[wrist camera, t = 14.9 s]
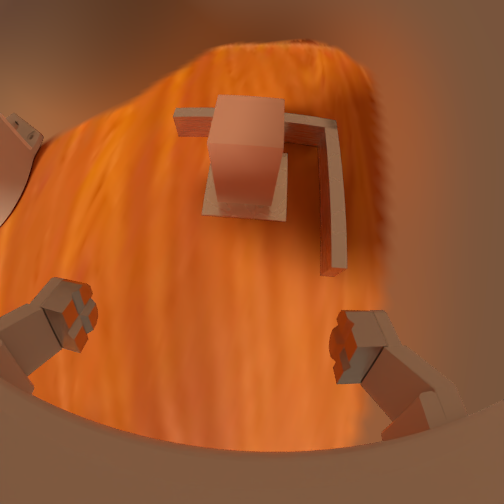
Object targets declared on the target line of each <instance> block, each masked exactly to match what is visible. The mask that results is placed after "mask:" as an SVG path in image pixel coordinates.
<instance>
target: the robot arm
mask: <svg viewBox="0 0 504 504" xmlns="http://www.w3.org/2000/svg"><path fill="white" fill-rule="evenodd" d="M43 138H44V137H43V135H42V134H41V133H40V132H38V131H37V130H36V129H34V128H33V127H32V126H31V125H29V124H28V123H26V122H25V121H24V120H23V119H21V118H20V117H19V116H18V115H16V114H15V113H13V114H11V115H10V116H8V117H7V118H5V117H4V116H3V115H2V113H0V226H1V225H2V224H3V222H4V221H5V220H6V219H7V217H8V216H9V214H10V213H11V211H12V210H13V208H14V206H15V205H16V203H17V201H18V199H19V198H20V196H21V194H22V191H23V189H24V187H25V185H26V182H27V180H28V177H29V174H30V170H31V166H32V162H33V159H34V156H35V154H36V152H37V151H38V149H39V147H40V145H41V143H42V141H43ZM92 294H93V293H92V290H91V287H90V285H88V284H87V283H82V282H77V281H72V280H68V279H62V278H58V277H54V278H51V280H50V281H49V282H48V283H47V284H46V285H45V286H44V288H43V289H42V290H41V291H40V292H39V293H38V295H37V296H36V297H35V298H34V299H33V301H32V302H31V303H30V304H25V305H23V306H21V307H19V308H17V309H15V310H13V311H11V312H9V313H7V314H6V315H4V316H2V317H0V504H504V399H503V400H501V401H499V402H497V403H495V404H493V405H491V406H489V407H486V408H484V409H482V410H480V411H478V412H475V413H473V414H470V415H468V414H467V411H466V409H465V406H464V404H463V401H462V399H461V397H460V394H459V392H458V390H457V388H456V386H455V384H454V383H453V382H451V381H450V380H449V379H448V378H446V377H445V376H444V375H443V374H441V373H440V372H439V371H438V370H436V369H435V368H434V367H433V366H431V365H430V364H429V363H427V362H426V361H425V360H424V359H422V358H421V357H420V356H419V355H417V354H416V353H415V352H414V351H412V350H411V349H410V348H408V347H407V346H402V344H401V342H400V340H399V338H398V336H397V334H396V331H395V329H394V327H393V325H392V323H391V321H390V319H389V317H388V315H387V313H386V312H385V311H384V310H370V311H361V310H341V312H340V313H339V315H338V317H337V322H338V326H336V327H335V328H334V329H333V330H332V332H331V335H330V340H329V352H330V356H331V358H332V359H334V360H335V361H336V363H335V365H334V367H333V370H334V374H335V379H336V383H337V384H355V383H361V384H360V385H361V386H362V387H363V388H364V389H365V390H366V392H367V393H368V394H369V395H370V396H371V397H372V398H373V400H374V401H375V402H376V403H377V404H378V405H379V407H380V408H381V409H382V410H383V411H384V412H385V413H386V415H387V416H388V417H389V418H390V419H391V420H392V421H393V422H392V423H391V424H390V425H389V426H388V427H387V428H386V429H384V430H383V432H382V433H381V436H382V440H383V441H381V442H376V443H370V444H364V445H358V446H351V447H344V448H336V449H326V450H314V451H295V452H255V451H236V450H224V449H214V448H205V447H198V446H191V445H185V444H179V443H173V442H168V441H163V440H158V439H154V438H149V437H145V436H141V435H137V434H133V433H130V432H126V431H122V430H119V429H116V428H112V427H109V426H106V425H103V424H100V423H97V422H94V421H91V420H89V419H86V418H83V417H81V416H78V415H75V414H73V413H70V412H68V411H66V410H63V409H61V408H59V407H56V406H54V405H52V404H50V403H48V402H46V401H43V400H41V399H39V398H37V397H35V396H33V395H31V394H32V392H33V390H34V385H33V384H32V383H31V381H30V380H29V379H28V377H27V376H29V375H30V374H31V373H32V372H33V371H35V370H36V369H37V368H38V367H40V366H41V365H42V364H43V363H45V362H46V361H47V360H49V359H50V358H51V357H52V356H54V355H55V354H56V353H57V352H59V351H60V350H61V349H62V348H64V349H68V350H71V351H75V352H78V353H81V351H82V350H83V348H84V346H85V344H86V342H87V340H88V336H87V333H89V332H91V331H92V330H94V328H95V326H96V324H97V319H98V309H97V306H96V303H95V302H94V301H93V300H92V299H91V296H92Z"/></svg>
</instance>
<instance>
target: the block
mask: <svg viewBox="0 0 504 504" xmlns="http://www.w3.org/2000/svg"><path fill="white" fill-rule="evenodd" d="M207 145H208V151H209V157H210V162H211V168H212V174H213V179H214V185H215V190H216V195H217V201H218V202H225V203H239V204H251V205H263V206H271V205H272V200H273V196H274V191H275V187H276V182H277V177H278V173H279V168H280V164H281V159H282V154H283V150H284V99H277V98H267V97H255V96H239V95H218V98H217V103H216V107H215V111H214V115H213V119H212V124H211V128H210V132H209V137H208V141H207Z"/></svg>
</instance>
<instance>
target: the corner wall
mask: <svg viewBox="0 0 504 504" xmlns="http://www.w3.org/2000/svg"><path fill="white" fill-rule="evenodd" d="M214 111H215V108H176V110H175V112H174V115H173V119H174V122H175V126H176V129H177V132H178V136H179V137H209V132H210V128H211V124H212V119H213V115H214ZM284 142H286V143H295V144H303V145H310V146H317V147H318V163H319V184H320V225H321V258H320V276H332V277H334V276H336V275H338V274H339V273H341V272H343V271H344V270H346V269H347V234H346V213H345V198H344V185H343V173H342V163H341V154H340V146H339V138H338V130H337V123H336V120H331V119H325V118H319V117H313V116H306V115H299V114H291V113H284ZM287 169H288V153H283V154H282V159H281V164H280V168H279V173H278V177H277V182H276V187H275V191H274V196H273V200H272V205H271V206H263V205H251V204H239V203H225V202H218V201H217V195H216V190H215V185H214V179H213V174H212V168H211V163H210V168H209V174H208V179H207V185H206V191H205V197H204V203H203V209H202V215H203V216H217V217H231V218H243V219H255V220H267V221H278V222H286V209H287Z"/></svg>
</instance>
